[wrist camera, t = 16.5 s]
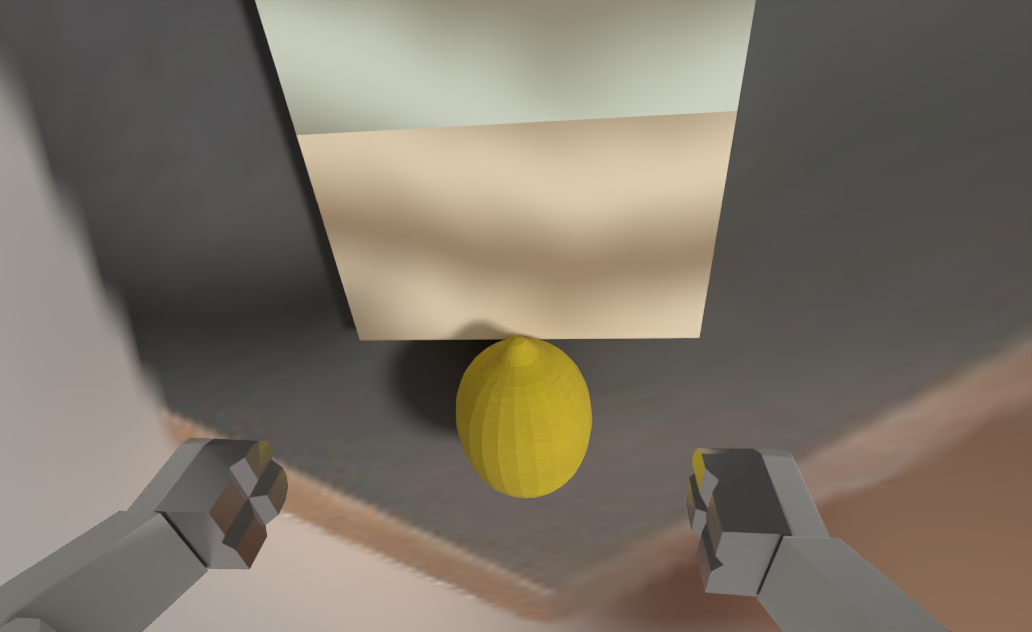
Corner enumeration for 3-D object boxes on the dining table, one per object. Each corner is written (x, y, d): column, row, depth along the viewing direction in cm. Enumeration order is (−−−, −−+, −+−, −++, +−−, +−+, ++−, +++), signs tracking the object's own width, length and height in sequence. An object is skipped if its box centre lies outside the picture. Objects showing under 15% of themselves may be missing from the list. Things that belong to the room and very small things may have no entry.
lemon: (427, 319, 20) (457, 454, 24) (463, 410, 15) (491, 554, 20) (554, 285, 21) (561, 419, 26) (620, 360, 17) (614, 505, 21)
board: (207, -223, 13) (182, -236, 12) (792, -304, 11) (809, -326, 10) (367, 326, 22) (359, 340, 21) (693, 323, 21) (699, 337, 20)
